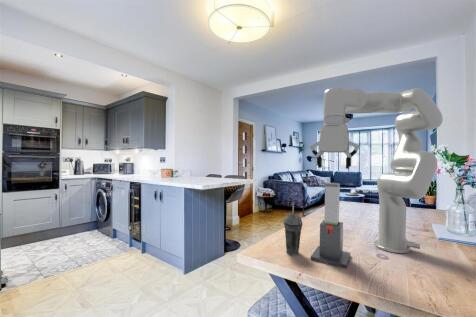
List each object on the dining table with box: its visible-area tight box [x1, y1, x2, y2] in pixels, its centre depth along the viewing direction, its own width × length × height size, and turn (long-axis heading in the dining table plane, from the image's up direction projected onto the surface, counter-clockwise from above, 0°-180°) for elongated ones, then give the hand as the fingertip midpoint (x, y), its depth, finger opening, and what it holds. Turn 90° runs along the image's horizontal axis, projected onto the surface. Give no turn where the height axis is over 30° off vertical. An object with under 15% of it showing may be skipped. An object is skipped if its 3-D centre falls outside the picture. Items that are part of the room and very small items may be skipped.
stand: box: [310, 219, 351, 269], centre depth 87 cm, size 12×12×13 cm
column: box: [324, 182, 341, 226], centre depth 87 cm, size 4×4×20 cm
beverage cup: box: [283, 202, 303, 256], centre depth 91 cm, size 7×7×20 cm
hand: (333, 168), depth 87 cm, fingers open, 9 cm apart
